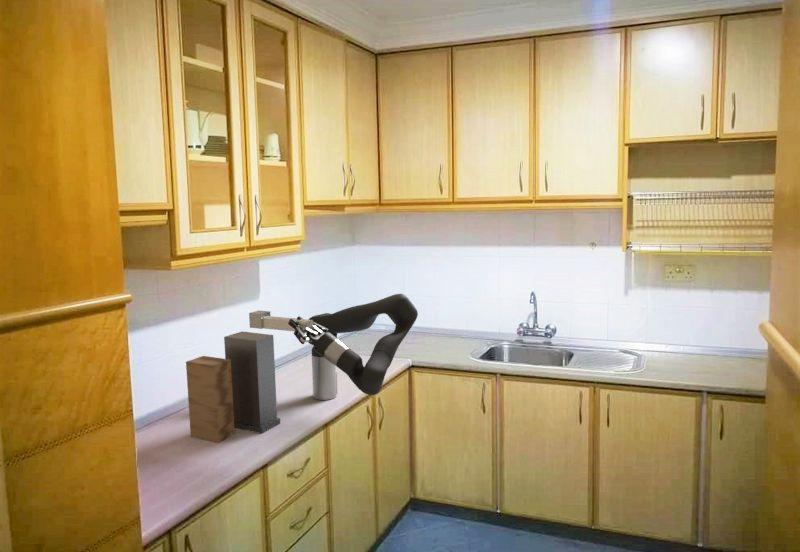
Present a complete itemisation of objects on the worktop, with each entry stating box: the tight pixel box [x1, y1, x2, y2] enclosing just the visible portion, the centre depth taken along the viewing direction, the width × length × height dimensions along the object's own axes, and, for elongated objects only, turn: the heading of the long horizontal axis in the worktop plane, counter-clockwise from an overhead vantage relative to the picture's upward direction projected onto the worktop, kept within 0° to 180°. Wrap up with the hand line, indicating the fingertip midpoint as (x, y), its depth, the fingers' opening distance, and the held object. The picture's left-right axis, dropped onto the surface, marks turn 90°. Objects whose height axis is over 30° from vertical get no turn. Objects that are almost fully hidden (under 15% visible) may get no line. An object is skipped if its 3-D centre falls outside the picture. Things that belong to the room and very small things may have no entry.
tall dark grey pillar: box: [223, 330, 281, 434], centre depth 219 cm, size 10×16×32 cm, turn 63°
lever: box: [248, 310, 313, 334], centre depth 209 cm, size 5×23×5 cm, turn 63°
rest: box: [185, 355, 236, 444], centre depth 210 cm, size 8×12×26 cm, turn 63°
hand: (293, 319), depth 207 cm, fingers closed on lever, 3 cm apart
